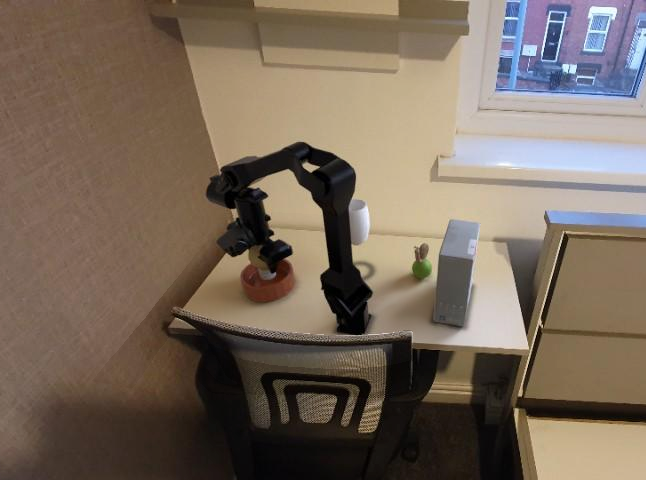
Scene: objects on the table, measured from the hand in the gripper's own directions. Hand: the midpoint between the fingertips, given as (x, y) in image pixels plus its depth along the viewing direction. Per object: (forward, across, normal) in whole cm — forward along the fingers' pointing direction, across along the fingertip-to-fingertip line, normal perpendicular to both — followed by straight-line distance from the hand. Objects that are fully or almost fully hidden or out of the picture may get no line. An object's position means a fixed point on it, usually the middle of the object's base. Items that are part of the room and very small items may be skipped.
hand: (266, 267), depth 98 cm
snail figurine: (+7, +26, +29) cm, 39 cm away
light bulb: (+3, 0, 0) cm, 3 cm away
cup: (+7, +12, +20) cm, 24 cm away
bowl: (+6, 0, 0) cm, 6 cm away
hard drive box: (+7, +39, +27) cm, 48 cm away
